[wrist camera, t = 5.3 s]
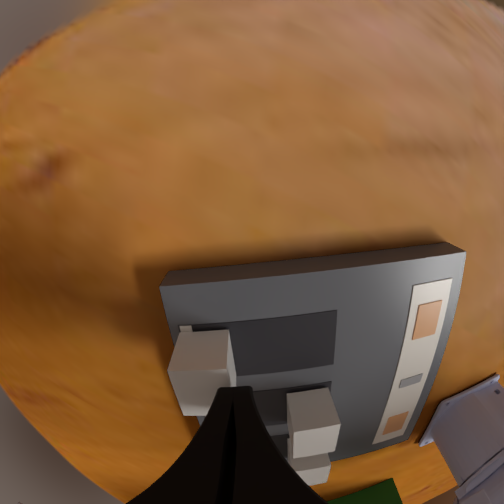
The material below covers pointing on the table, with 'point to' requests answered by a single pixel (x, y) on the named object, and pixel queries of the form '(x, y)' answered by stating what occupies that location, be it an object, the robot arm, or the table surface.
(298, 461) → the tab
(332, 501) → the hardback book
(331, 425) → the tab middle
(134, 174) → the table surface
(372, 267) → the switch board
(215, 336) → the tab
